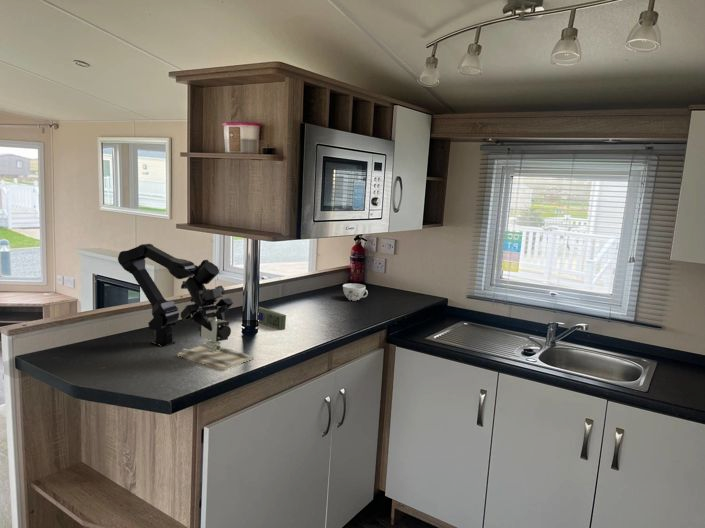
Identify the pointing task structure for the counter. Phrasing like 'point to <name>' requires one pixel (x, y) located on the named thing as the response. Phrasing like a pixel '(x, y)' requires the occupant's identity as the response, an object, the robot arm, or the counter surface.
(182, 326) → the counter surface
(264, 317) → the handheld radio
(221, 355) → the mounting panel
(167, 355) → the counter surface
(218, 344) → the pneumatic valve
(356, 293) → the teacup
